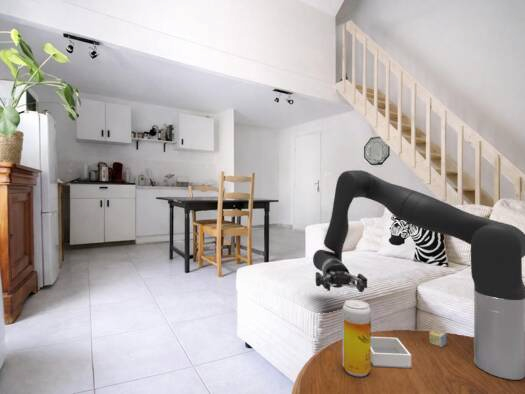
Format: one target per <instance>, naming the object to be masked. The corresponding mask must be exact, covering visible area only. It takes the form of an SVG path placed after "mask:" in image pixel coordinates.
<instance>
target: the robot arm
mask: <svg viewBox="0 0 525 394" xmlns="http://www.w3.org/2000/svg"><path fill="white" fill-rule="evenodd" d="M357 198H364V199H369V200H372V201H374V202H377V203H379V204H381V205H382V206H383V207H384V208H386V209H387V210H388V211H389V212H390V213H391V214H392V215H393V216H395V218H397V219H399V220H401V221H404V222H405V223H408V224H410V225H413V226H414V227H416V228H420V229H423V230H426V231H430V232H433V233H437V234H441V235H446V236H449V237H452V238H455V239H458V240H459V241H463V242H465V243H467V244H468V245H470V270H471V271H470V273H471V278H472V281H473V284H474V285H473V286H474V290H473V291H474V292H473V293H474V294H473V295H474V296H473V297H474V298H473V299H474V300H473V303H474V304H473V305H474V306H473V311H474V313H473V316H474V317H473V319H474V320H473V321H474V322H473V362H474V364H475V365H476V367H478V368H479V369H480V370H482V371H484V372H485V373H488V374H490V375H493V376H496V377H499V378H502V379H507V380H512V381H513V380H515V381H516V380H517V381H518V380H523V379H524V378H525V284H524V282H523V266H522V265H523V264H522V259H523V258H524V257H525V232H523V230H521V229H520V228H518V227H517V226H515V225H512V224H509V223H505V222H501V221H498V220H493V219H490V218H486V217H483V216H479V215H476V214H473V213H469V212H467V211H464V210H462V209H460V208H458V207H456V206H453V205H452V204H449V203H447V202H445V201H442V200H439V199H437V198H435V197H433V196H431V195H427V194H426V193H425V194H424V193H423V192H420V191H416V190H413V189H411V188H407V187H404V186H401V185H398V184H395V183H391V182H388V181H386V180H383V179H381V178H379V177H378V176H375V175H374V174H372V173H370V172H367V171H366V170H358V169H357V170H355V169H354V170H346V171H343V172H342V173H340V175H339V176H338V178H337V180H336V185H335V192H334V199H333V204H332V209H331V210H332V211H331V217H330V221H329V224H328V227H327V231H326V234H325V237H324V240H323V244H324V246H325V248H327V249H328V250H325V249H319V250H316V251H315V252H314V254H313V255H312V256H313V257H312V261H313V266H314V268H316V270H319V271H320V272H322V273H320V272H318V271H317V272H315V279H314V280H315V286H316V287H321V286H322V287H323V289H325V290H326V291H329V292H330V291H331V287H332V288H336V289H337V288H339V289H340V288H342V287H348V288H349V289H350V288H352V289H353V288H356V289H357V290H358V292H359V293H363V291H365V289H368V278H367V277H365V276H364V275H363V274H362V273H358V274H357V275H355V274H354V275H353V274H351V273H350V271H349V269H348V267H347V266H346V265H345V264H344V263H343V261H342V259H343V248H344V245H345V242H346V240H347V237H348V233H349V225H350V224H349V216H348V215H349V209H350V206H351V204H352V203H353V200H354V199H357ZM329 250H330V251H329Z"/></svg>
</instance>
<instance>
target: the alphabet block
mask: <svg viewBox="0 0 525 394" xmlns="http://www.w3.org/2000/svg"><path fill="white" fill-rule="evenodd" d="M428 335H429V344H432V345H434V346H437V347H440V348H443V347H445V345H447V333H446V332H443V331H439V330H436V329H433V330H431V331H429V334H428Z"/></svg>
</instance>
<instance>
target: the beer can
mask: <svg viewBox="0 0 525 394" xmlns="http://www.w3.org/2000/svg"><path fill="white" fill-rule="evenodd" d="M371 323H372V310H371V307H370V305H369V303H367V302H366V301H363V300H357V299H349V300H345V302H344V303H343V306H342V364H341V365H342V367H343V368H344V369H345V371H346V373H348V374H349V375H351V376H353V377H358V378H359V377H360V378H361V377H365V376H367V375H368V374H369V372H371V370H372V368H371V366H372V364H371V337H372V336H371V335H372V324H371Z"/></svg>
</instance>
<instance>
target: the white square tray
mask: <svg viewBox="0 0 525 394" xmlns="http://www.w3.org/2000/svg"><path fill="white" fill-rule="evenodd" d="M371 366H372V367H377V368H393V369H394V368H396V369H412V353H410V352H409V351H408V349H407V348H406V347H405V345H404V344H403V343H402V342H401V341H400V339H399V338H398V337H388V336H371Z"/></svg>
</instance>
